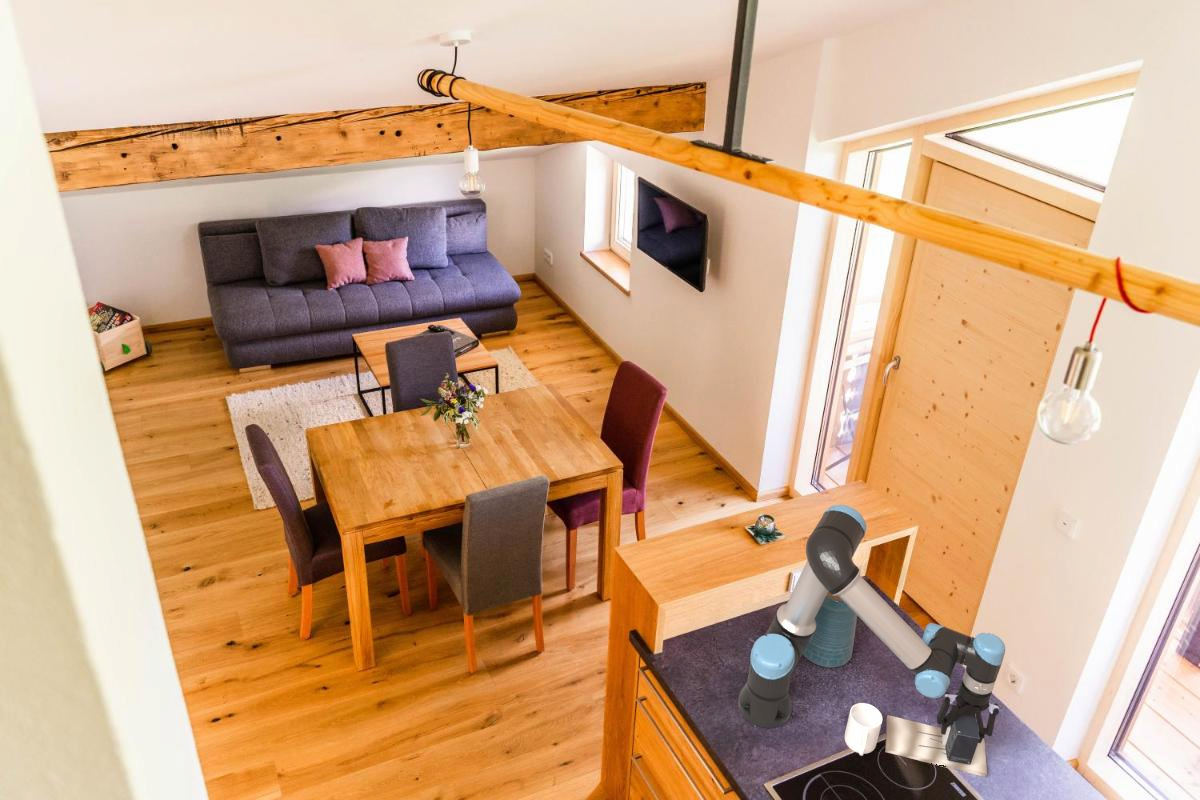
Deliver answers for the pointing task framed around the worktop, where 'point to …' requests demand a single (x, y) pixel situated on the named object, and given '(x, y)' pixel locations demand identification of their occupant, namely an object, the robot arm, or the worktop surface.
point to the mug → (863, 728)
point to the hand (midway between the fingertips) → (957, 744)
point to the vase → (832, 634)
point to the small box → (962, 738)
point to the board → (927, 745)
